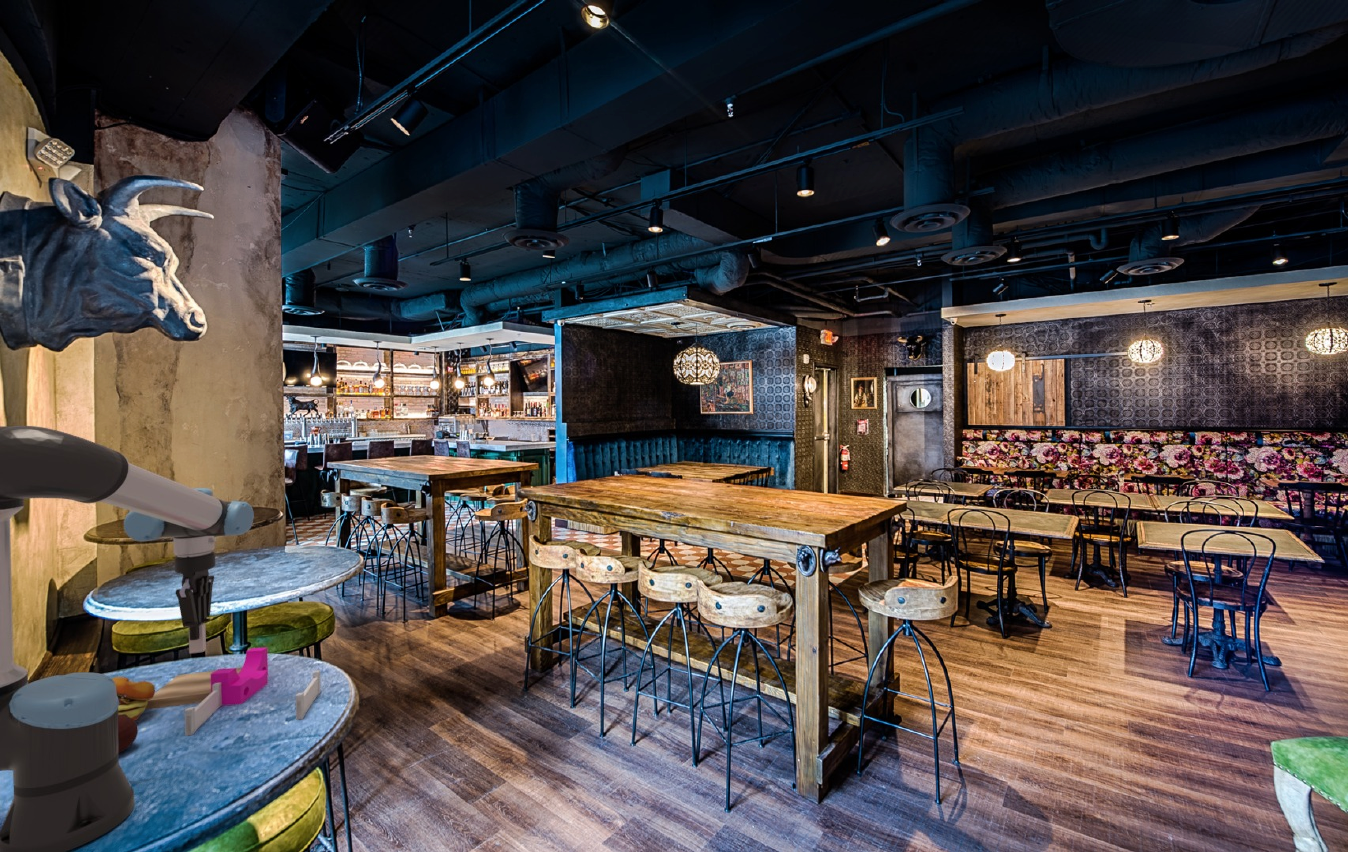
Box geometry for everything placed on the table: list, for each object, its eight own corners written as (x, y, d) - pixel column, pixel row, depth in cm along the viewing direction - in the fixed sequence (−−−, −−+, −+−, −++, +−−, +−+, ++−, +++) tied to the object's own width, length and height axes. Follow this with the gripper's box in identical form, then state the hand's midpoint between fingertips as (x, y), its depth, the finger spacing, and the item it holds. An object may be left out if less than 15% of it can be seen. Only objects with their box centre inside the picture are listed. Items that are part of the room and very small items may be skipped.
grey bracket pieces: (302, 718, 124) (301, 694, 124) (185, 735, 118) (184, 710, 118) (320, 691, 136) (320, 669, 136) (215, 705, 130) (214, 683, 130)
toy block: (241, 704, 131) (240, 672, 131) (211, 706, 130) (210, 673, 130) (278, 676, 146) (277, 646, 146) (252, 677, 145) (251, 648, 145)
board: (219, 700, 133) (218, 691, 133) (145, 709, 129) (144, 700, 129) (244, 674, 146) (244, 666, 146) (178, 682, 142) (178, 674, 142)
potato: (87, 769, 107) (86, 731, 107) (83, 754, 112) (82, 718, 112) (141, 751, 112) (140, 715, 112) (135, 738, 117) (134, 703, 117)
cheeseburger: (62, 726, 119) (86, 674, 122) (123, 724, 128) (144, 675, 131) (89, 733, 115) (113, 678, 119) (150, 730, 124) (170, 680, 128)
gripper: (200, 558, 132) (203, 660, 132) (226, 546, 145) (228, 639, 145) (160, 561, 130) (163, 664, 130) (190, 548, 142) (193, 643, 143)
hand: (197, 651), depth 138 cm, fingers closed
